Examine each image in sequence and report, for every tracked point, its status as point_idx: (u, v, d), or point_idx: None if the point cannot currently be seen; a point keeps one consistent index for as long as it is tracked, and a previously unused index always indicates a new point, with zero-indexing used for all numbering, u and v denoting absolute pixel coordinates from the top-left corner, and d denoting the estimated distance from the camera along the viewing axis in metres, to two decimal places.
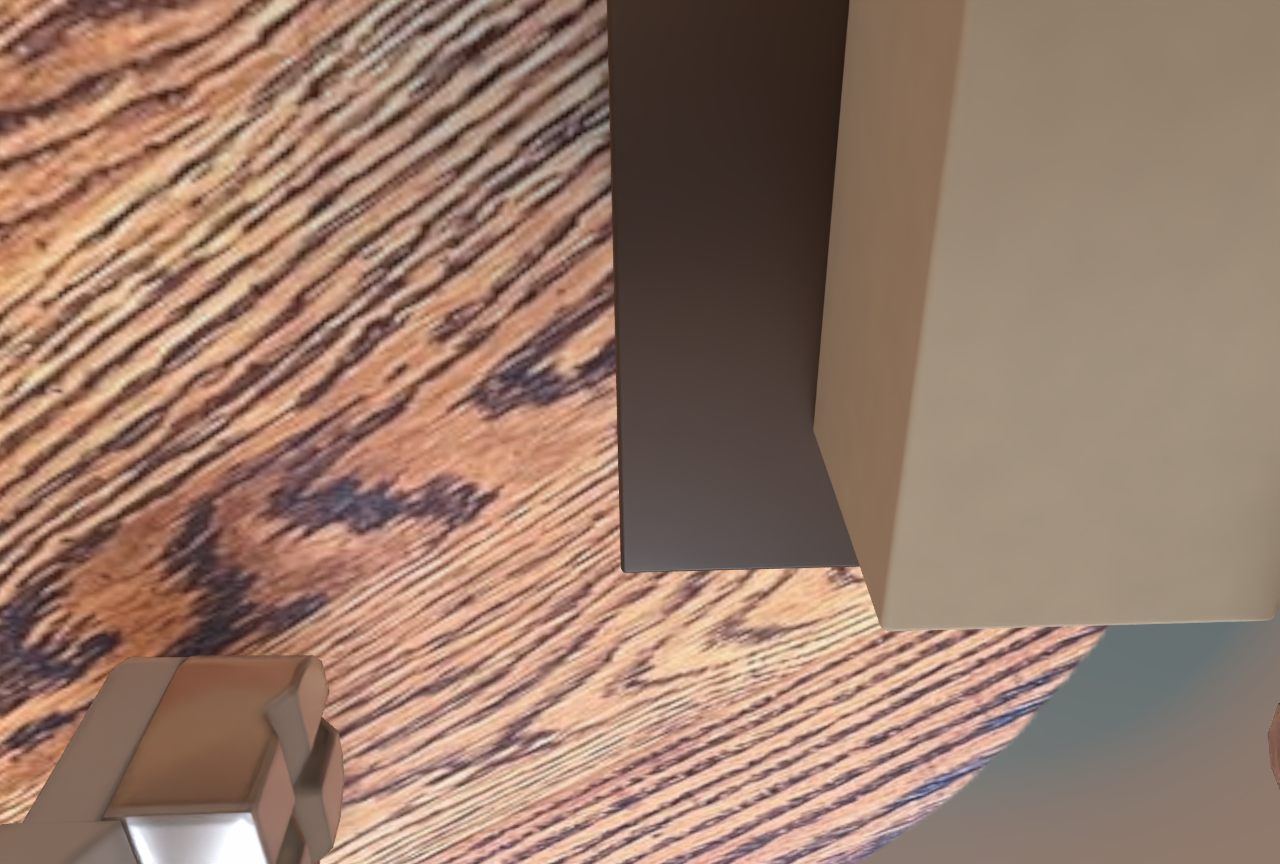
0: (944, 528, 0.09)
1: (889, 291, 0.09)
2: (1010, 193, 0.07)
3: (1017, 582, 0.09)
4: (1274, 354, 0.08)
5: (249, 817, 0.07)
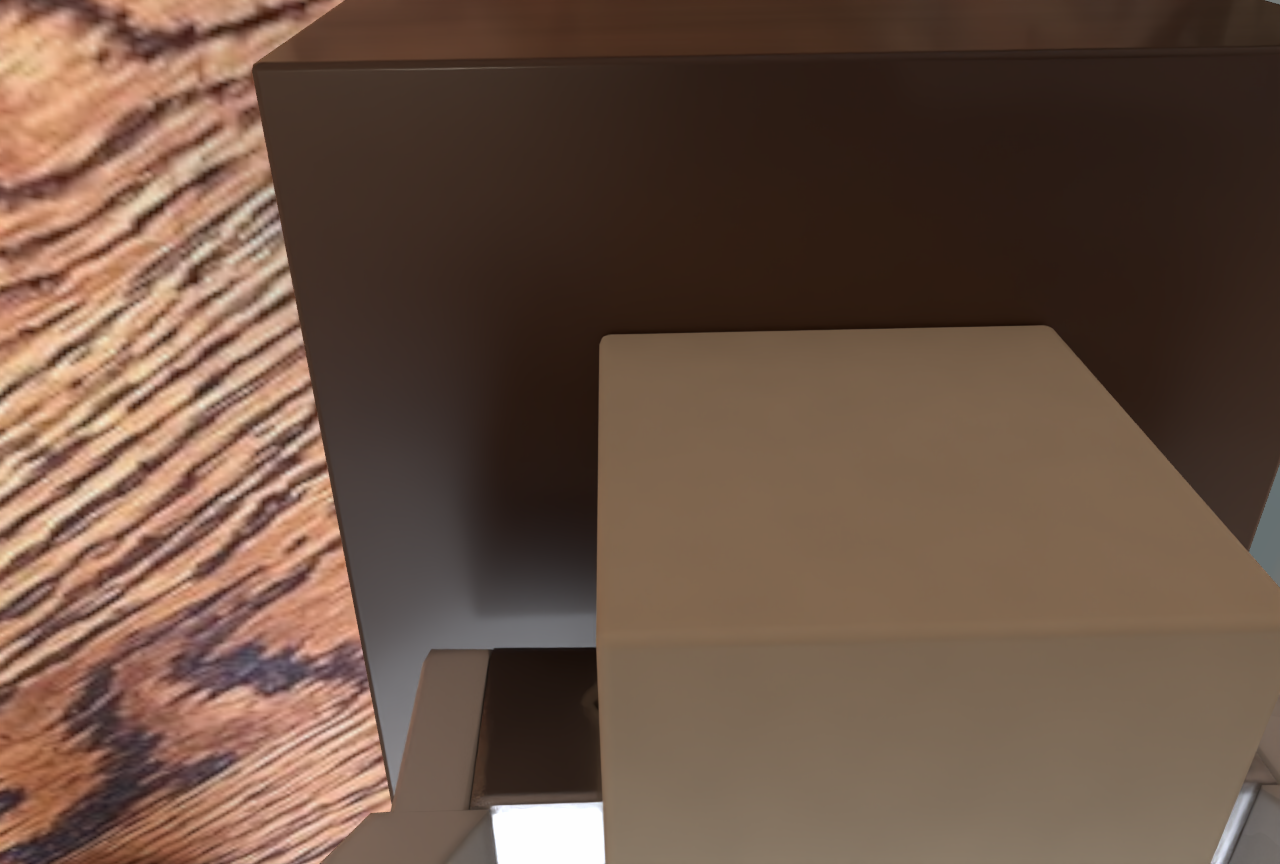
0: None
1: None
2: None
3: None
4: None
5: None
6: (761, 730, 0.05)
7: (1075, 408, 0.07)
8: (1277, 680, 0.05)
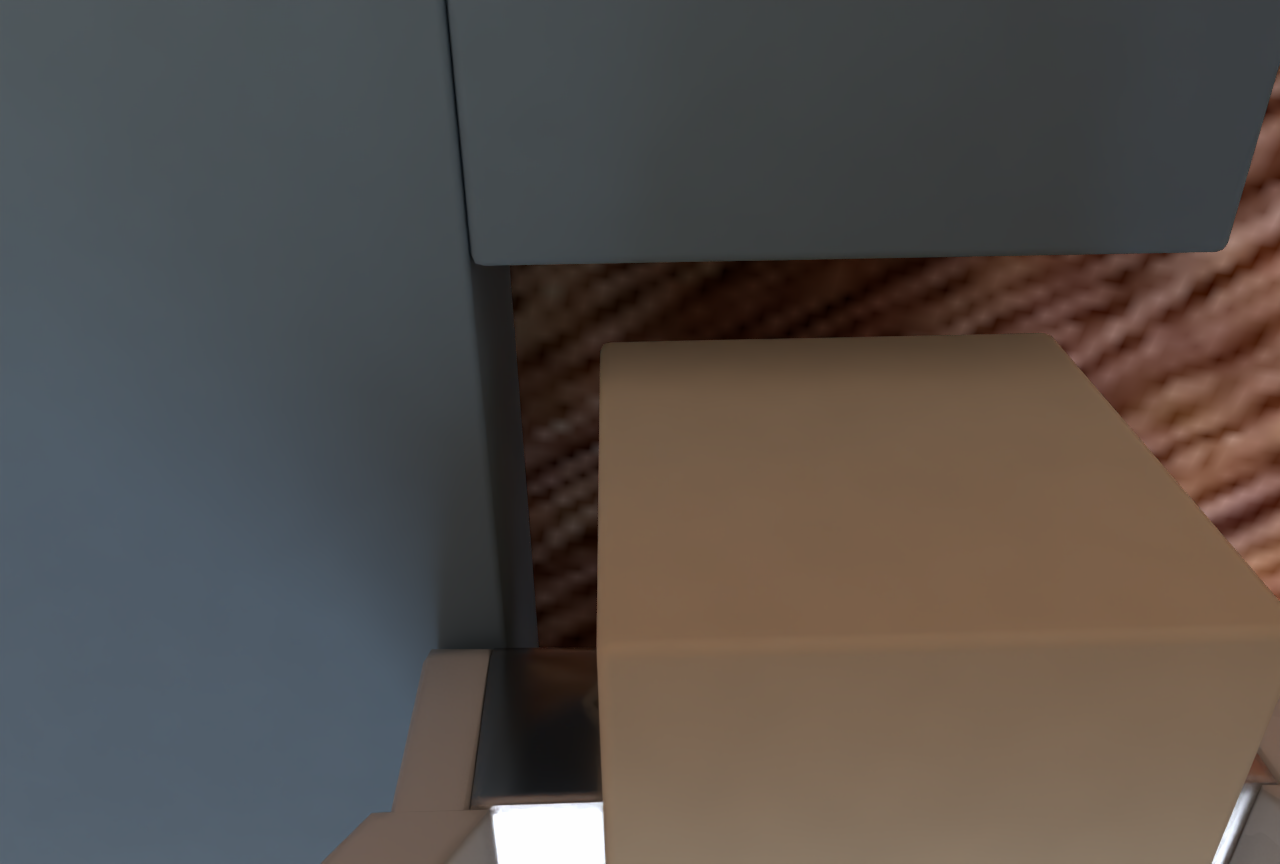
0: None
1: None
2: None
3: None
4: None
5: None
6: (760, 738, 0.05)
7: (1074, 417, 0.07)
8: (1274, 690, 0.05)
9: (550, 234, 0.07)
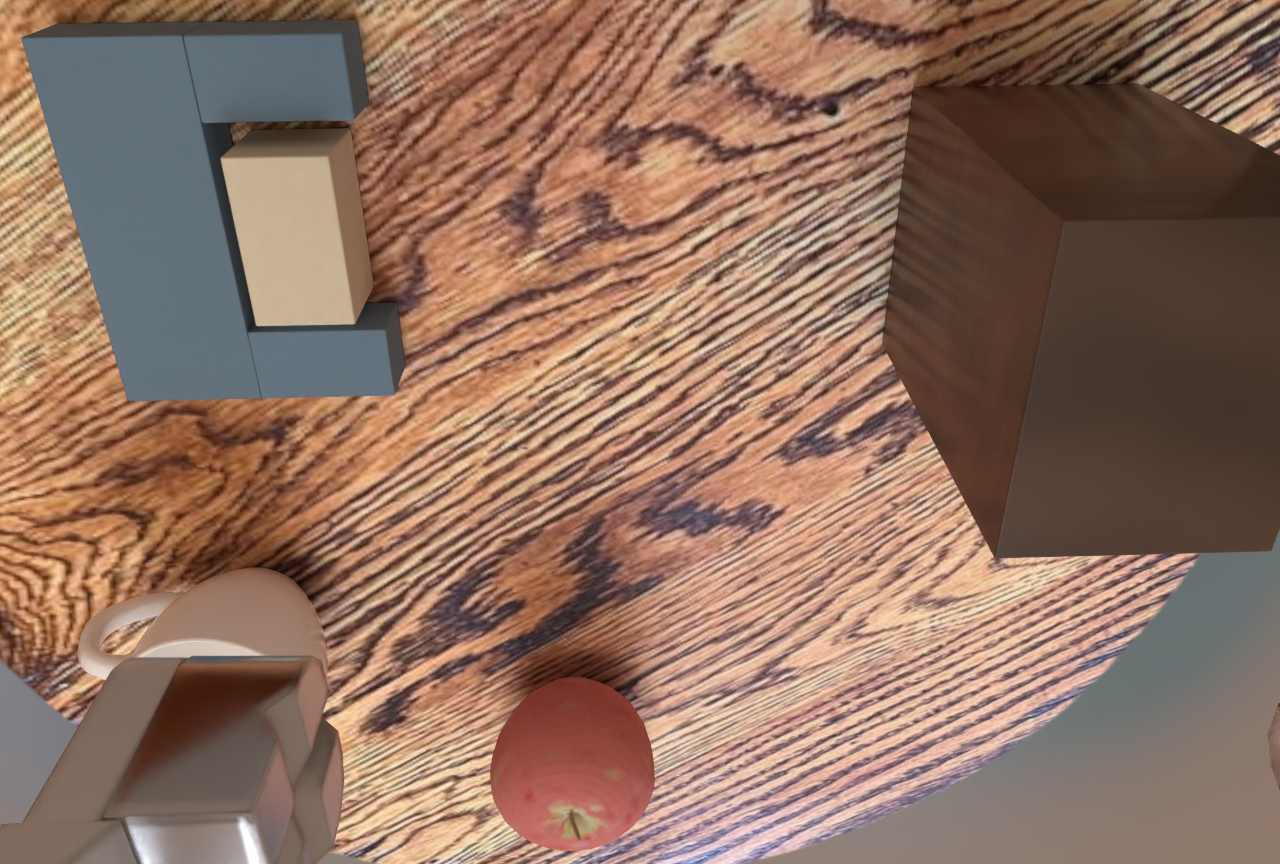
0: (261, 297, 0.36)
1: None
2: (247, 219, 0.35)
3: (284, 312, 0.37)
4: (318, 254, 0.36)
5: (249, 817, 0.07)
6: (248, 176, 0.34)
7: (332, 138, 0.36)
8: (327, 167, 0.34)
9: (216, 116, 0.34)
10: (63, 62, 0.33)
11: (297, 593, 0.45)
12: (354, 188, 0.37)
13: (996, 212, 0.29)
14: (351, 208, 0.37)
